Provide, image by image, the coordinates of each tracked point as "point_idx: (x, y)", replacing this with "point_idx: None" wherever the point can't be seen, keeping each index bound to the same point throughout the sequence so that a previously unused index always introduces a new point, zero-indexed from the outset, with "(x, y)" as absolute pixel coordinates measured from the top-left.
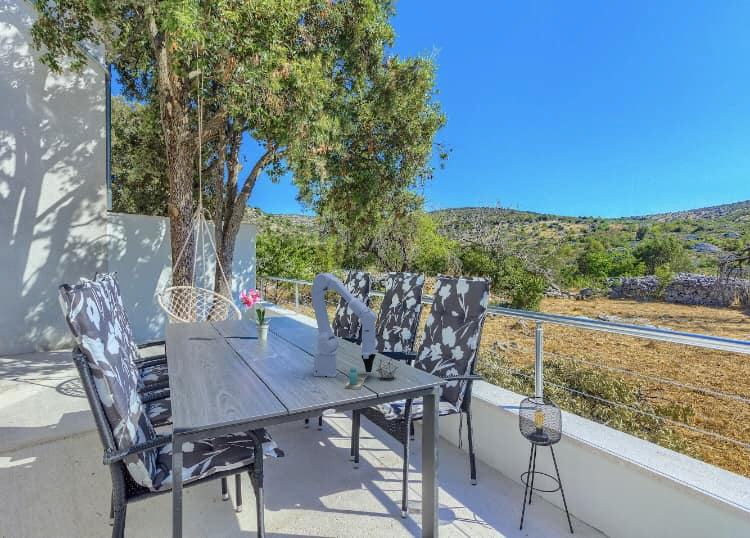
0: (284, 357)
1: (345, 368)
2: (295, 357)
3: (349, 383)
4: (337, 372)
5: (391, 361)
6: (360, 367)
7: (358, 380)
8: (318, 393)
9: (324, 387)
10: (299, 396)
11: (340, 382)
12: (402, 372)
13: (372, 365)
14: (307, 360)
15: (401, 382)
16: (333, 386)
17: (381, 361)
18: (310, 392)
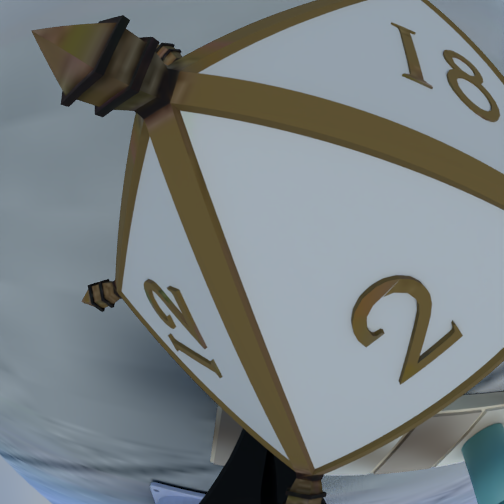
0: (50, 500)
1: (65, 439)
2: (35, 487)
3: (457, 456)
4: (180, 493)
5: (257, 53)
6: (9, 371)
7: (426, 438)
8: (469, 484)
9: (414, 496)
10: (465, 500)
11: (361, 482)
12: (47, 6)
13: (241, 461)
14: (42, 482)
15: (470, 30)
16: (416, 483)
17: (329, 465)
18: (447, 499)
